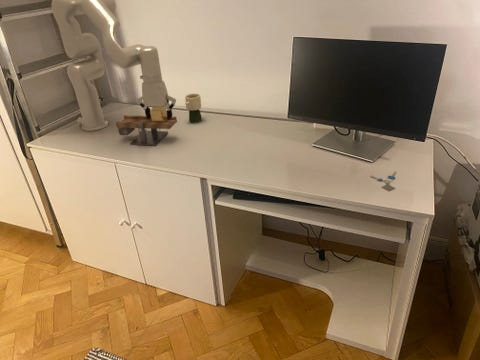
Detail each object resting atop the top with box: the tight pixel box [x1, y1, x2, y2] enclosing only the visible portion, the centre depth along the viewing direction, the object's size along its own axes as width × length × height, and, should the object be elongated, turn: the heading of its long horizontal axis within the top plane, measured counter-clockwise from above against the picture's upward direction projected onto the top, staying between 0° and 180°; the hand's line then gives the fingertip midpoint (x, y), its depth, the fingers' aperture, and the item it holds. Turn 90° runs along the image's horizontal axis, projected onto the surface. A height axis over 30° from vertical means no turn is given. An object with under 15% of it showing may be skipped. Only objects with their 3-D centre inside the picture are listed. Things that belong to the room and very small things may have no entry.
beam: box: [115, 114, 178, 136], centre depth 163 cm, size 25×8×6 cm, turn 77°
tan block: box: [150, 107, 168, 123], centre depth 159 cm, size 5×5×6 cm
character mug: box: [184, 93, 203, 123], centre depth 179 cm, size 11×7×13 cm, turn 148°
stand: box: [129, 123, 169, 147], centre depth 164 cm, size 12×14×10 cm
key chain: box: [370, 170, 397, 192], centre depth 125 cm, size 14×8×1 cm, turn 158°
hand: (159, 118), depth 160 cm, fingers open, 9 cm apart
